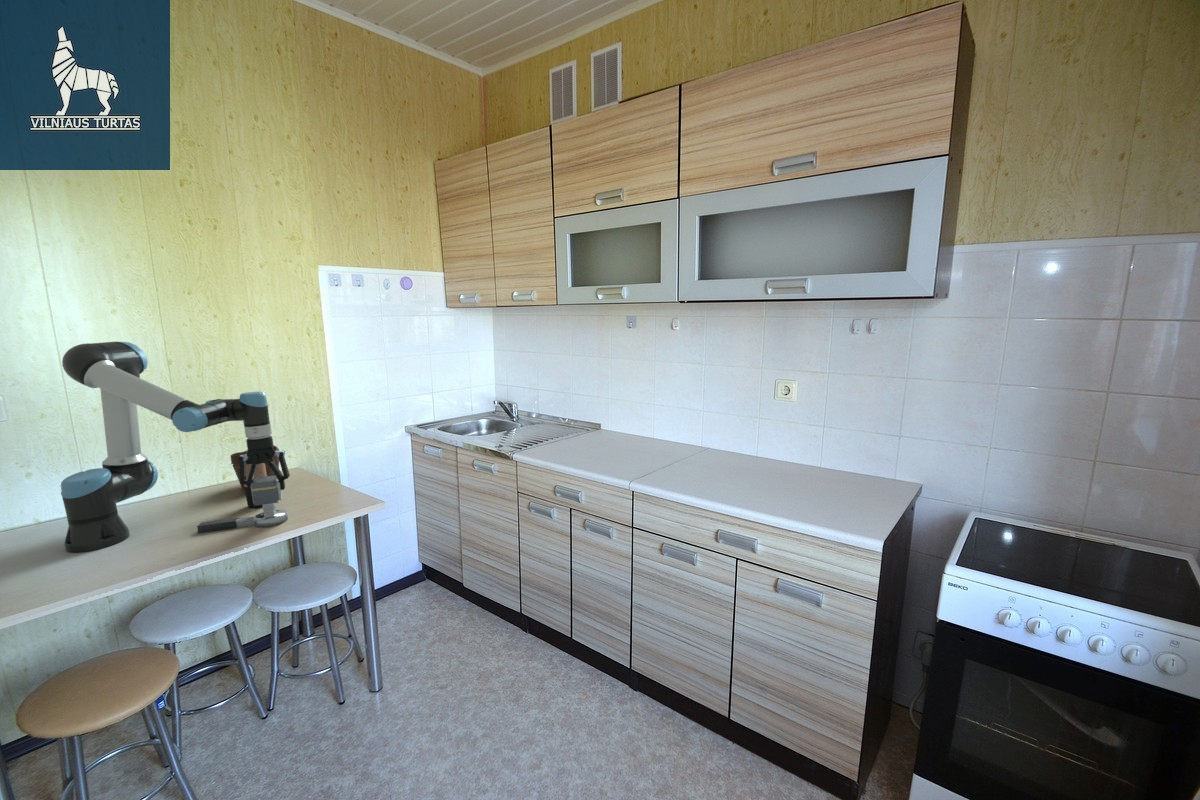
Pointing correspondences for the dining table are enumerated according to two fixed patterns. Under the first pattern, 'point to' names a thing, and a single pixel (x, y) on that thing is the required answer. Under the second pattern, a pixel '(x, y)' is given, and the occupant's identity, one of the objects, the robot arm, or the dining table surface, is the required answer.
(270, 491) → the gold-striped grey cube
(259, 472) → the travel mug
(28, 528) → the dining table surface
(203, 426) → the robot arm
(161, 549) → the dining table surface
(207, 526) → the ratchet
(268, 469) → the brown tapered pot
